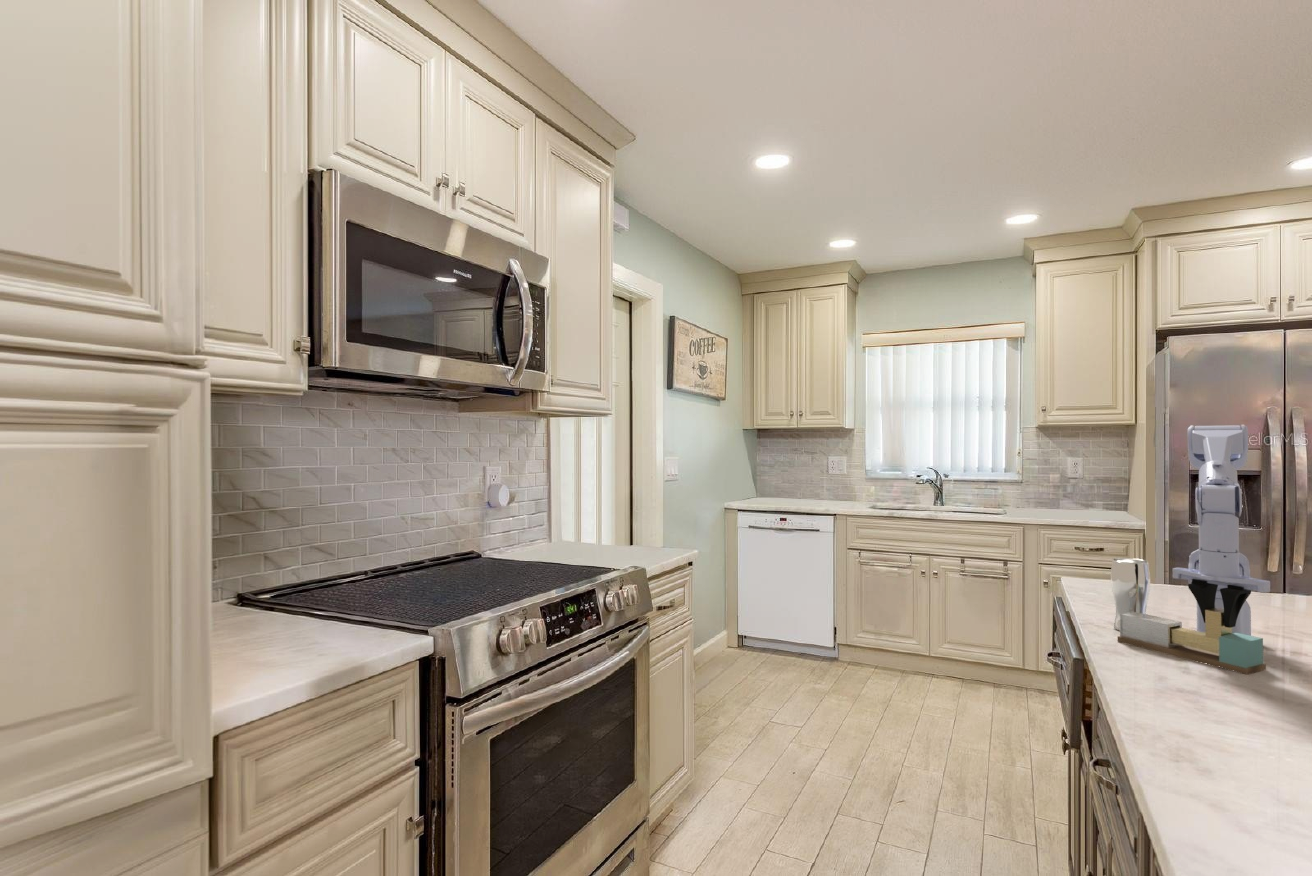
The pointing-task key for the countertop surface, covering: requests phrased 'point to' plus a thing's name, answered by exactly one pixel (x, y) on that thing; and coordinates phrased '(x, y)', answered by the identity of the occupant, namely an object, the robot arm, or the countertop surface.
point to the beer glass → (1129, 586)
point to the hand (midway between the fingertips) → (1219, 624)
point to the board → (1193, 655)
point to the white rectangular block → (1147, 628)
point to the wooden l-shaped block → (1201, 639)
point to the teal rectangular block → (1241, 650)
